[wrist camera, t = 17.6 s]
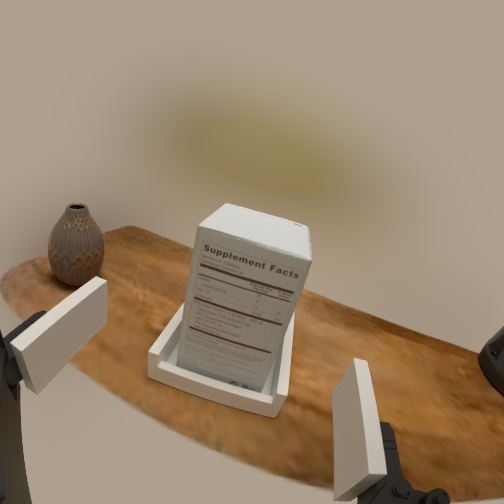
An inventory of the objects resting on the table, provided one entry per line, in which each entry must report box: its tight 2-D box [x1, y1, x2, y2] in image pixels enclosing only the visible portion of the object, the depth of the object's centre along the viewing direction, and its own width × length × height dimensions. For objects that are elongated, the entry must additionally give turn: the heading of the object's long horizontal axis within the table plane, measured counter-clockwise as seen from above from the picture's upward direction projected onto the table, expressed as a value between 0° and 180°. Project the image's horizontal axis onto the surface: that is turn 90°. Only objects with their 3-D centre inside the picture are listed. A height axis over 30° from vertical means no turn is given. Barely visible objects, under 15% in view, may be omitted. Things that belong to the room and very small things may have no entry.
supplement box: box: [176, 203, 312, 393], centre depth 23 cm, size 7×7×13 cm
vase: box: [48, 203, 104, 286], centre depth 29 cm, size 7×7×9 cm
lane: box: [148, 303, 295, 418], centre depth 29 cm, size 21×11×8 cm, turn 170°
